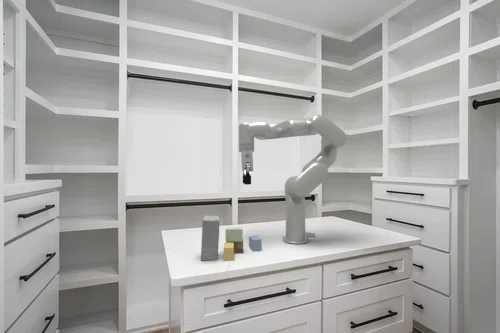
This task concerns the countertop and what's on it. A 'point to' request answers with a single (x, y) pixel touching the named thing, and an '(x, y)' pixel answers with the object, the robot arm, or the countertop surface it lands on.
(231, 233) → the sage brick
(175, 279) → the countertop surface
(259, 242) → the slate brick
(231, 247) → the ochre brick
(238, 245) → the walnut brick
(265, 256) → the countertop surface
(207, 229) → the skincare box
